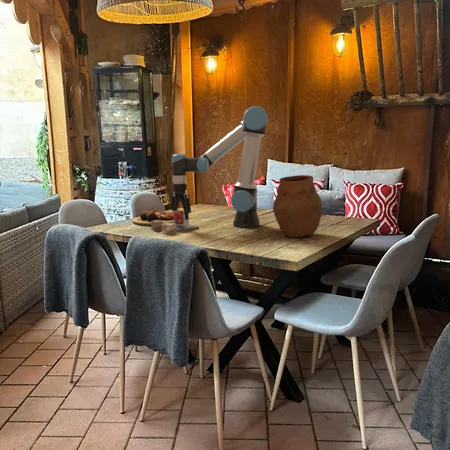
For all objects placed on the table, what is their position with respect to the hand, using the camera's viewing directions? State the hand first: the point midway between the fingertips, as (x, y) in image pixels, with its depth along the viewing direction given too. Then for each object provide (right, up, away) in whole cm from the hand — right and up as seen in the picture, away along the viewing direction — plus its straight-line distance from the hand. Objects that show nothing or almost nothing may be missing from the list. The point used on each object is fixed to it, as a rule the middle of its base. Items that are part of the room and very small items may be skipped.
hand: (181, 224), depth 238 cm
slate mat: (0, -2, 0) cm, 3 cm away
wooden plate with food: (-15, +1, +23) cm, 27 cm away
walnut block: (-13, -3, -3) cm, 13 cm away
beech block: (-5, -5, -11) cm, 13 cm away
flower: (0, 0, 0) cm, 0 cm away
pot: (+61, -6, -19) cm, 64 cm away
